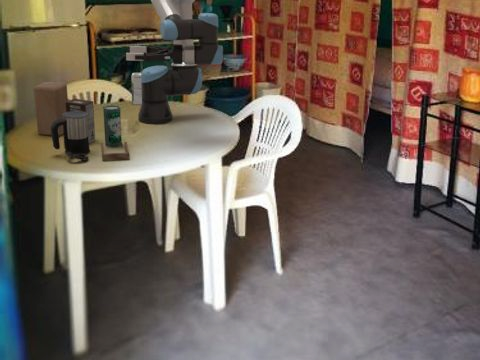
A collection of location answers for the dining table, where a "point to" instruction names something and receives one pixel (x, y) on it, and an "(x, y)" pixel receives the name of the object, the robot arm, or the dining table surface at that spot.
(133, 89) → the syrup box
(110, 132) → the can
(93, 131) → the coffee box
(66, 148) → the milk frother
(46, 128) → the block
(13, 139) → the dining table surface
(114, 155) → the brown flat u-shaped piece
